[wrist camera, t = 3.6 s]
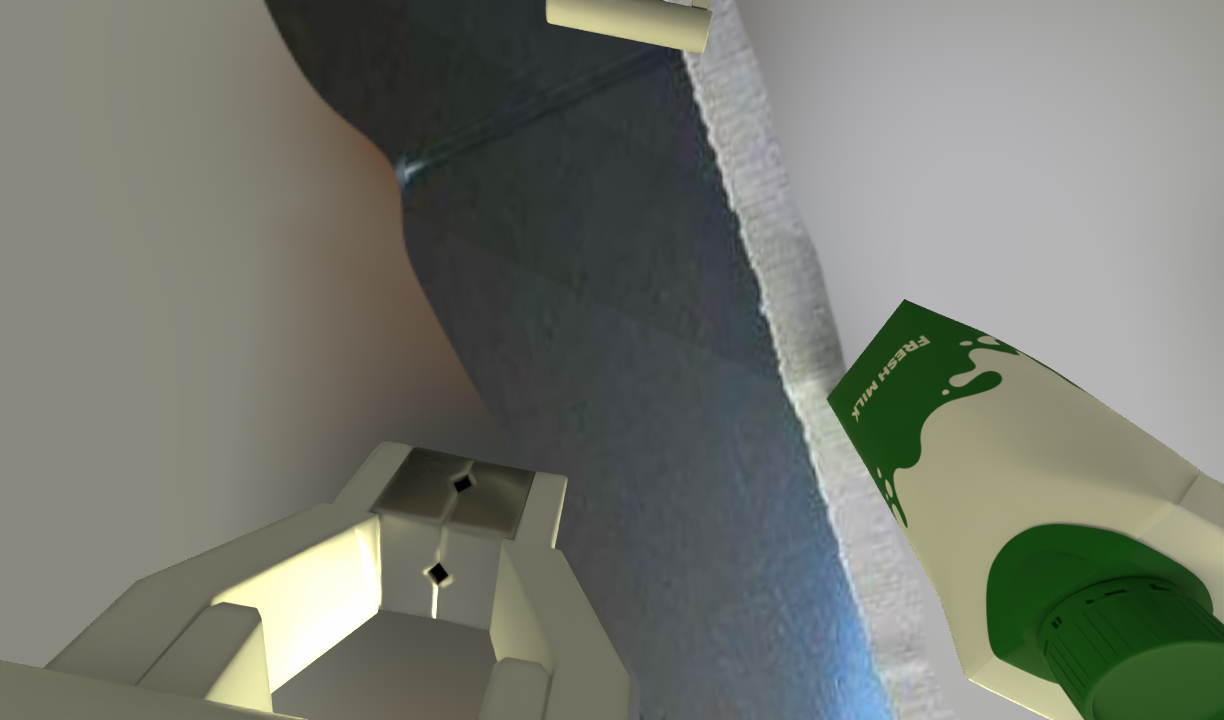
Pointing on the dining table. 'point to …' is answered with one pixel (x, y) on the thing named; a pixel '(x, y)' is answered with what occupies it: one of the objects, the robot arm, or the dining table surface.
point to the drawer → (637, 20)
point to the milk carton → (1044, 525)
